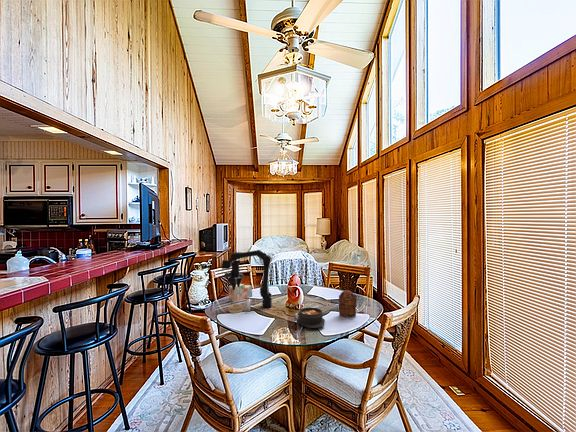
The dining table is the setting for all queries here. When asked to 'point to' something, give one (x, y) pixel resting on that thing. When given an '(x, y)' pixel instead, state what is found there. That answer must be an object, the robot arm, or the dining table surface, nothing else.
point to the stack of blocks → (240, 292)
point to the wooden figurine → (347, 304)
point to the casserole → (311, 317)
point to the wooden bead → (235, 308)
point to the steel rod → (248, 305)
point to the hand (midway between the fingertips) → (236, 288)
